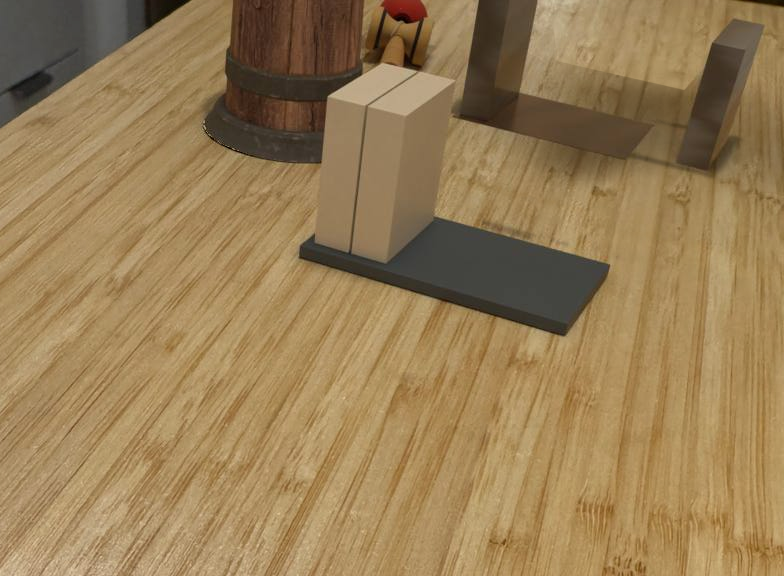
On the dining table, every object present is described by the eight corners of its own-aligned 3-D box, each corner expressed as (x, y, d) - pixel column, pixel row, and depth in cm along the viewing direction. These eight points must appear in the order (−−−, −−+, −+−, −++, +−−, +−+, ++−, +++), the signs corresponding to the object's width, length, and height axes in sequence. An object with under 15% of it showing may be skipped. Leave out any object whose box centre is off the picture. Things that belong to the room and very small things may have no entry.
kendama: (428, 108, 122) (439, 35, 133) (426, 47, 117) (437, -23, 128) (357, 112, 123) (373, 40, 134) (351, 52, 118) (369, -18, 130)
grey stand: (729, 153, 115) (772, 23, 107) (705, 190, 107) (749, 53, 99) (489, 95, 123) (512, -31, 114) (449, 126, 114) (471, -7, 106)
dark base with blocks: (607, 275, 92) (650, 121, 84) (564, 336, 84) (607, 171, 76) (360, 207, 98) (378, 57, 90) (298, 257, 90) (311, 97, 82)
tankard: (352, 175, 103) (380, -81, 89) (176, 142, 105) (178, -113, 92) (406, 98, 120) (436, -128, 106) (253, 70, 122) (264, -153, 109)
